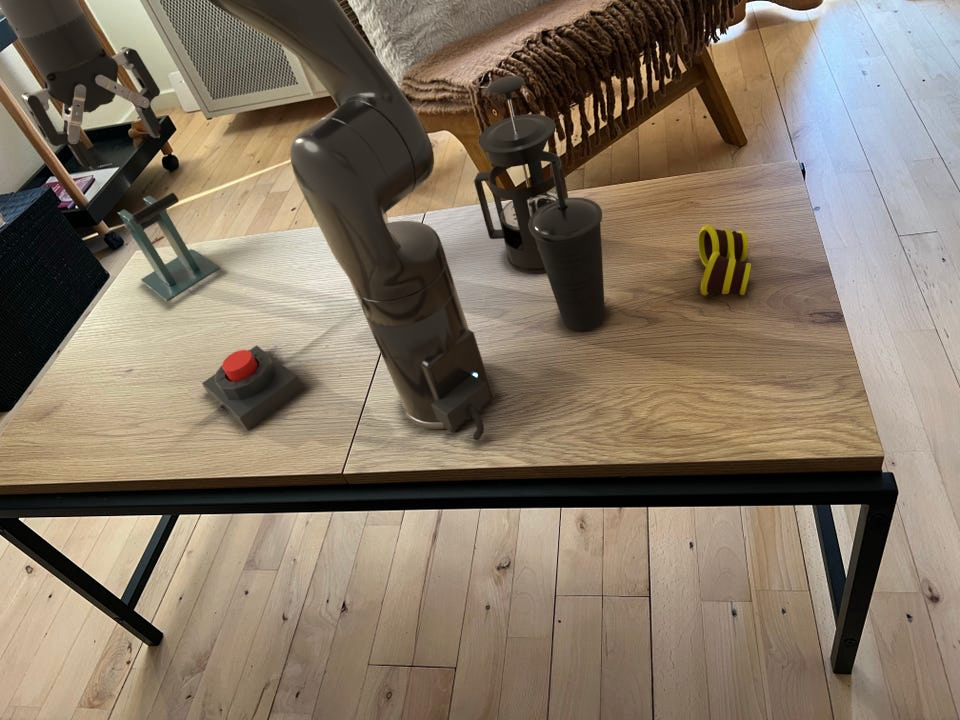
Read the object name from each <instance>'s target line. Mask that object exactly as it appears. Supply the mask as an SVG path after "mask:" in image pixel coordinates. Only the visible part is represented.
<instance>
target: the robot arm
mask: <svg viewBox="0 0 960 720" xmlns="http://www.w3.org/2000/svg"><path fill="white" fill-rule="evenodd" d="M206 1H207V2H209V3H210V4H211V5H213V6H214V7H216V8H218V9H220V10H221V11H223V12H224V13H226V14H227V15H229V16H231V17H232V18H234V19H236V20H238V21H239V22H241V23H243V24H245V25H246V26H248V27H250V28H252V29H253V30H254V31H257V32H259V33H261V34H262V35H264V36H265V37H267V38H269V39H270V40H273V41H274V42H276V43H277V44H279V45H280V46H282V47H284V48H285V49H287V51H289V52H290V53H291V54H293V55H294V56H295V57H296V58H298V59H299V60H300V61H301V62H302V63H303V64H304V65H305V66H306V67H307V68H308V70H310V72H311V73H312V74H313V75H314V76H315V77H316V79H317V81H318V82H320V84H321V85H322V87H324V89H325V90H326V92H327V93H328V94H329V96H330V97H331V99H332V100H333V102H334V103H335V105H336V106H337V108H335V109H333V110H332V111H330V112H329V113H327V114H326V115H324V116H322V117H321V118H320V119H319V120H317V121H315V122H314V123H312V124H311V125H309V126H308V127H306V128H305V129H303V130H302V131H301V132H299V133H298V134H297V135H296V136H295V137H294V138H293V140H292V142H291V144H290V145H291V146H290V149H289V150H290V153H289V155H290V164H291V168H292V171H293V175H294V178H295V180H296V182H297V185H298V187H299V190H300V191H301V194H302V195H303V198H304V200H305V201H306V203H307V206H308V207H309V209H310V212H311V213H312V215H313V217H314V219H315V221H316V223H317V225H318V227H319V229H320V231H321V233H322V235H323V237H324V239H325V242H326V244H327V246H328V247H329V249H330V251H331V253H332V255H333V257H334V259H335V260H336V262H337V263H338V265H339V267H340V268H341V270H343V272H344V274H345V275H346V276H347V278H348V280H349V282H350V285H351V287H352V290H353V292H354V294H355V296H356V298H357V300H358V303H359V305H360V308H361V310H362V312H363V315H364V317H365V320H366V322H367V324H368V327H369V329H370V331H371V334H372V336H373V338H374V341H375V343H376V345H377V348H378V350H379V352H380V355H381V357H382V359H383V361H384V362H383V363H384V364H385V366H386V368H387V371H388V374H389V375H390V378H391V380H392V383H393V385H394V387H395V389H396V391H397V394H398V396H399V398H400V401H401V404H402V408H403V411H404V413H405V415H406V417H407V418H408V420H409V421H410V422H411V423H412V424H414V425H415V426H418V427H420V428H423V429H428V430H448V431H449V432H451V433H454V432H456V431H457V430H458V429H459V428H460V427H462V426H463V425H464V424H465V423H466V422H468V421H469V420H470V419H473V421H474V423H475V426H476V430H475V432H474V433H473V435H472V439H473V440H474V441H479V440H481V437H482V436H483V434H484V431H485V425H484V422H483V419H482V417H481V416H480V414H479V412H480V411H481V410H482V409H483V408H484V407H485V406H486V405H488V404H489V403H490V402H491V401H492V400H494V398H495V396H494V392H493V388H492V387H491V382H490V379H489V377H488V376H489V375H488V374H487V371H486V367H485V365H484V361H483V358H482V354H481V351H480V349H479V348H480V347H479V345H478V342H477V339H476V335H475V333H474V331H473V330H471V329H470V328H469V326H468V322H467V319H466V316H465V312H464V309H463V307H462V304H461V303H462V302H461V300H460V297H459V294H458V291H457V288H456V285H455V281H454V278H453V275H452V272H451V268H450V265H449V263H448V260H447V256H446V253H445V249H444V246H443V243H442V241H441V238H440V236H439V234H438V233H437V231H436V230H435V229H434V228H433V227H431V226H429V225H428V224H426V223H423V222H419V221H413V220H398V221H391V222H388V223H385V221H384V218H383V214H384V213H387V212H388V211H390V210H391V209H392V208H394V207H395V206H396V205H398V204H399V203H400V202H401V201H402V200H404V199H405V198H406V197H408V196H409V195H410V194H411V193H413V192H414V191H416V190H417V189H418V188H419V187H420V186H422V185H423V184H424V183H425V182H426V181H427V180H428V179H429V178H430V177H431V176H432V174H433V172H434V171H433V170H434V167H435V166H434V165H435V154H434V149H433V145H432V142H431V139H430V136H429V134H428V132H427V130H426V128H425V125H424V123H423V122H422V120H421V118H420V117H419V115H418V113H417V112H416V110H415V108H414V107H413V106H412V104H411V103H410V101H409V100H408V98H407V97H406V95H405V94H404V92H403V91H402V90H401V88H400V87H399V86H398V84H397V82H396V81H395V80H394V79H393V77H392V76H391V74H390V73H389V72H388V71H387V69H386V68H385V66H384V65H383V64H382V62H381V61H380V59H379V58H378V56H377V55H376V54H375V53H374V51H373V50H372V49H371V47H370V46H369V45H368V43H367V42H366V41H365V39H364V38H363V36H362V35H361V34H360V33H359V30H357V28H356V27H355V26H354V24H353V23H352V21H351V20H350V19H349V17H348V15H347V14H346V12H345V11H344V9H343V8H342V7H341V5H340V3H339V1H338V0H206ZM0 10H1V12H2V13H3V15H4V17H5V19H6V20H7V22H8V25H9V27H10V29H11V30H12V31H13V32H14V33H15V35H16V37H17V38H18V40H19V41H20V43H21V45H22V46H23V48H24V49H25V51H26V53H27V55H28V56H29V58H30V59H31V61H32V62H33V64H34V66H35V68H36V69H37V70H38V72H39V74H40V75H41V77H42V79H43V82H44V88H41V89H39V90H37V91H34V92H32V93H31V92H24V93H22V94H21V100H22V102H23V104H24V106H25V108H26V109H27V110H28V113H29V114H30V116H31V118H32V119H33V121H34V123H35V124H36V126H37V128H38V129H39V131H40V134H41V135H42V137H43V138H44V140H45V141H46V142H47V143H49V144H50V145H51V146H54V147H59V146H62V145H67V146H68V148H69V149H70V151H71V153H72V154H73V156H74V157H75V158H76V160H77V162H78V163H79V164H80V165H81V166H82V167H84V168H86V169H90V170H92V171H95V170H98V169H99V165H98V164H97V162H96V161H95V159H94V157H93V155H92V153H91V152H90V151H89V149H88V147H87V145H86V144H85V142H84V141H83V140H82V139H80V133H81V125H82V124H83V117H84V113H89V114H90V113H92V112H95V111H96V110H97V109H98V108H99V107H101V106H104V105H109V104H111V103H113V102H114V99H115V97H116V96H118V97H119V98H122V99H124V100H126V101H128V102H130V103H132V104H135V108H134V110H135V111H136V113H137V116H138V117H139V118H140V121H141V122H142V125H143V126H144V128H145V130H146V131H147V133H148V135H149V136H150V137H152V138H154V139H157V138H159V137H161V133H160V132H159V131H161V130H162V126H161V123H160V121H159V119H158V118H157V116H156V114H155V112H154V110H153V108H152V105H151V103H152V102H153V100H154V99H155V98H156V97H158V96H160V94H161V90H160V88H159V86H158V84H157V83H156V81H155V79H154V77H153V76H152V74H151V73H150V71H149V69H148V68H147V66H146V64H145V62H144V61H143V59H142V57H141V56H140V53H138V51H137V50H136V49H134V48H131V47H128V46H123V47H121V48H120V51H119V52H118V53H116V54H114V55H112V56H110V55H109V53H107V51H106V49H105V48H104V46H103V44H102V42H101V40H100V38H99V37H98V35H97V33H96V32H95V30H94V28H93V25H92V24H91V23H90V21H89V18H88V17H87V15H86V13H85V12H84V10H83V8H82V6H81V4H80V2H79V0H0ZM119 66H121V67H122V68H123V69H125V70H128V71H131V73H132V75H133V76H134V78H135V80H136V81H137V83H138V85H139V86H140V88H141V90H140V91H139V92H138V93H137V92H135V91H134V90H132V89H130V88H128V87H126V86H124V85H122V84H120V83H118V78H119V77H118V75H119ZM51 98H52V99H54V100H55V101H57V102H59V103H61V104H62V112H61V119H62V126H61V131H58V130H57V129H56V128H55V126H54V124H53V122H52V120H51V118H50V117H49V114H48V113H47V112H48V111H49V110H50V104H49V100H50V99H51Z"/></svg>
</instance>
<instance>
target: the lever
mask: <svg viewBox="0 0 960 720" xmlns="http://www.w3.org/2000/svg"><path fill="white" fill-rule="evenodd" d="M179 202H180V200H179V198H178V196H177V195H176V193H174V192H170V193H168V194H167V195H165V196H163V197H161V198H160V199H158V201H156V202H154V203H152V204H151V205H149V206H147V205H146V206H145V207H144V208H142V209H140V210H139V211H136V212H134V213H132V217H133V219H134V220H135V222H136V223H137V224H138V225H139V224H140V225H141V227H142V228H143V230H144V231H145V230H147V229H148V228H150V227H152V226H154V225H155V224H158V223H157V222H158V221H159V220H158V218H157V217H156V215H157V214H159V213H160V212H162V211H164V210H168V209H169V208H171V207H172V206H174V205H176V204H178V203H179Z"/></svg>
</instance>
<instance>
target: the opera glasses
mask: <svg viewBox="0 0 960 720" xmlns="http://www.w3.org/2000/svg"><path fill="white" fill-rule="evenodd" d="M697 248H698V254H699V258H700V261H701V263H702V264H703V266H704V267H705V268H704V272H703V275H702V278H701V282H700V288H699V290H700V294H701V296H708V295H709V293H721V295H729V293H732V294H736V293H739V295H740V296H745V294H746V291H747V287H748V283H749V279H750V272H751V268H752V263H750V262H746V264H744V263H743V262H745V261H746V260H747V258H748V254H749V237H748V234H747V231H745V230H739V231H736V230H731V229H728V228H722V229H718V228H715V227H714V226H712V225H710V224H706V225H703V226H702V227H701V228H700V230H699V232H698V236H697Z"/></svg>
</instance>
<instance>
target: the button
mask: <svg viewBox="0 0 960 720" xmlns="http://www.w3.org/2000/svg"><path fill="white" fill-rule="evenodd" d="M248 350H249V349H240V350H236V351H234V352H232V353H231V354H229V355H227V356H226V357H225V358H224V360H223V361H222V364H221V365H222V367H223V369H224V371H225V373H226V374H227V376H228V378H229V379H230V380H231V381H235V382H237V381H240V380H243V379H246V378H248V377H249V376H251V375H252V374H253V373H255V371H256V370H257V368H258V364H257V362H256V360H255V359H254V357H253V355H252V353H251V352H250V351H248Z"/></svg>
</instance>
